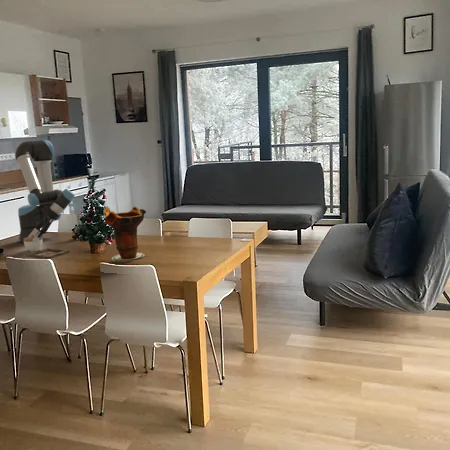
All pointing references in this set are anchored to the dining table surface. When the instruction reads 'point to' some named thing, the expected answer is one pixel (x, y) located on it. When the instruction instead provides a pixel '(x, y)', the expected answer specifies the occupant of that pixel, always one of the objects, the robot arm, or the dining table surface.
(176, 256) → the dining table surface
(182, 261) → the dining table surface
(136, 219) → the decorative vase
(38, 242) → the lidded jar
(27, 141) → the robot arm
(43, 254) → the walnut frame
